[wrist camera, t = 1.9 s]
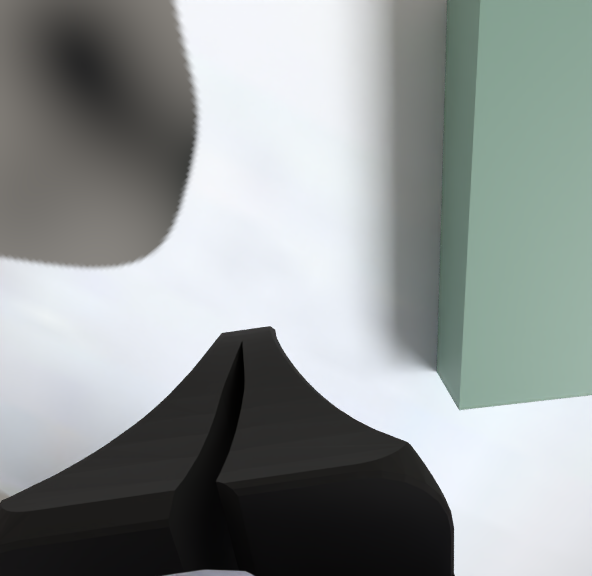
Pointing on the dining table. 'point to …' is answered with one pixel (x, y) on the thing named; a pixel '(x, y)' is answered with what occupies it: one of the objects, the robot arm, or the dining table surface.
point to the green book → (516, 203)
